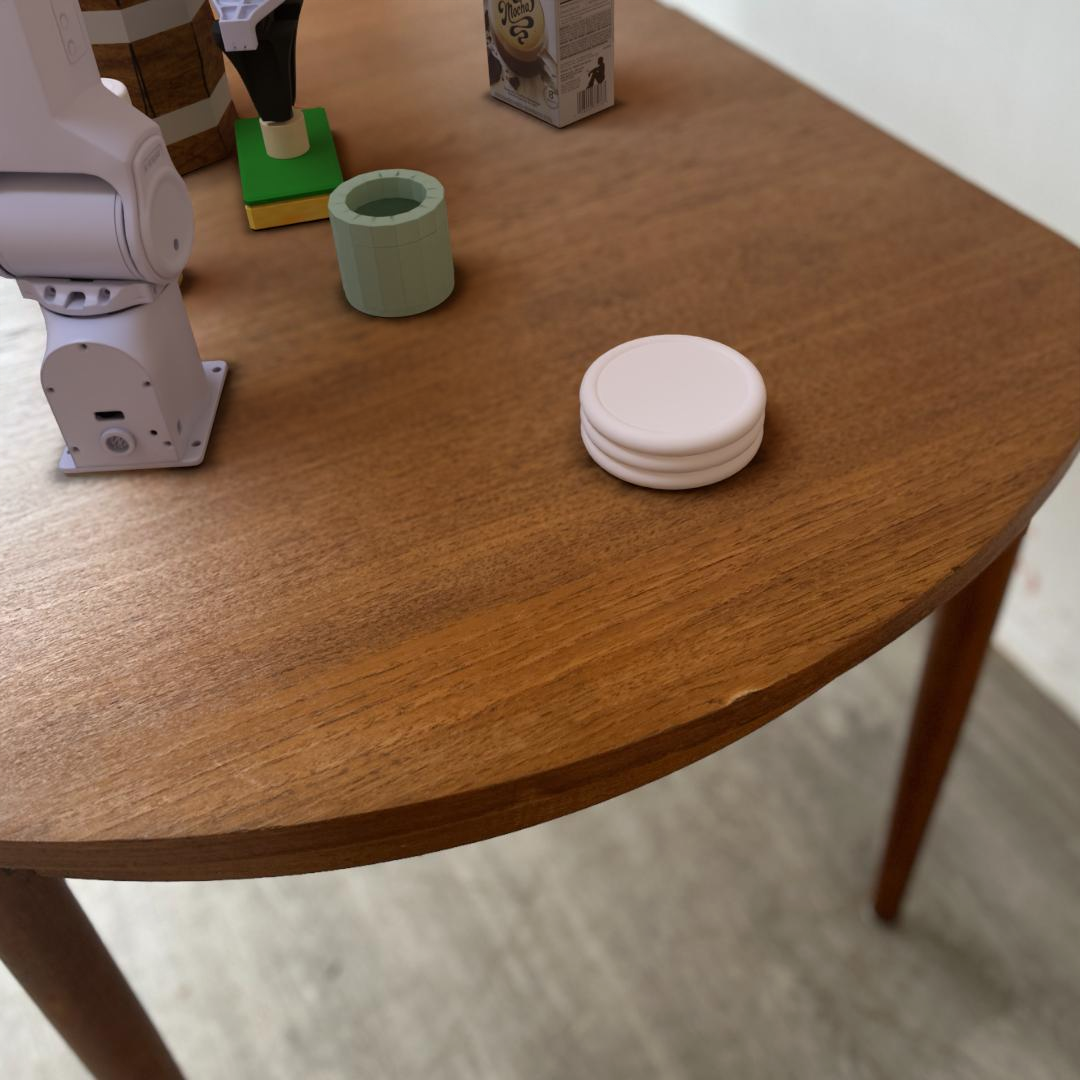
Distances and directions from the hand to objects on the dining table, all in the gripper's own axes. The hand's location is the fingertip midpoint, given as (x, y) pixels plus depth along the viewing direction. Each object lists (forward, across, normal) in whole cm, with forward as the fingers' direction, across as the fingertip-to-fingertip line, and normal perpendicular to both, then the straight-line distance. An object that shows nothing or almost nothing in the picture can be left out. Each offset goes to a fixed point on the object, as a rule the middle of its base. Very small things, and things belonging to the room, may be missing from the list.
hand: (279, 112), depth 86 cm
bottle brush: (+3, 0, 0) cm, 3 cm away
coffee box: (+6, +11, -20) cm, 23 cm away
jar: (+5, -16, -9) cm, 19 cm away
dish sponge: (+6, 0, 0) cm, 6 cm away
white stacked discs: (+6, -33, -25) cm, 42 cm away
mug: (+6, +11, +13) cm, 17 cm away
